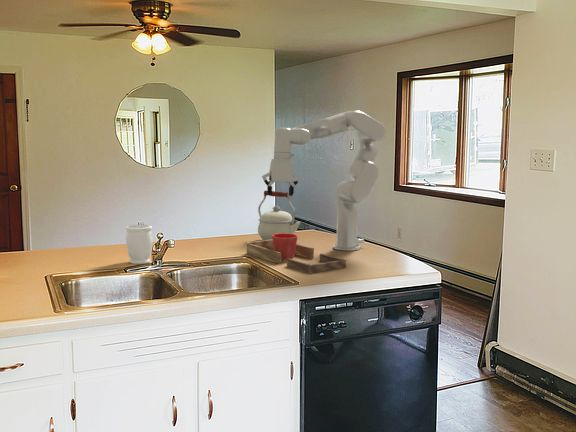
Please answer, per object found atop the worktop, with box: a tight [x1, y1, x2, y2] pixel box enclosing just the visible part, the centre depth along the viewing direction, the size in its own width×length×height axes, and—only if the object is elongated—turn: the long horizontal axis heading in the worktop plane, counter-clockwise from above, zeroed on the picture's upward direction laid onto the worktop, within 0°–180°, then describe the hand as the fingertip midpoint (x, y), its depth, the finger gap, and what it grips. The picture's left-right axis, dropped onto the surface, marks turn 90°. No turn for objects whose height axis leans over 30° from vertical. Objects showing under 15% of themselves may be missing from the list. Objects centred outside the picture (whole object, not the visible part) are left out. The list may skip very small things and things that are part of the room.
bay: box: [286, 253, 347, 274], centre depth 239 cm, size 18×15×3 cm
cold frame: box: [245, 239, 315, 264], centre depth 259 cm, size 18×25×5 cm
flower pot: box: [272, 233, 298, 260], centre depth 255 cm, size 11×11×10 cm
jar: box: [125, 224, 154, 265], centre depth 243 cm, size 11×10×15 cm
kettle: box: [257, 190, 301, 241], centre depth 292 cm, size 25×18×25 cm
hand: (280, 195), depth 260 cm, fingers open, 9 cm apart
